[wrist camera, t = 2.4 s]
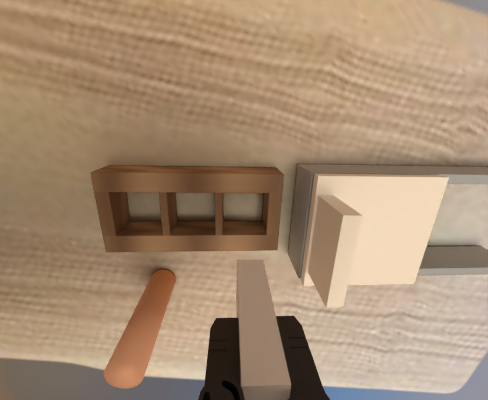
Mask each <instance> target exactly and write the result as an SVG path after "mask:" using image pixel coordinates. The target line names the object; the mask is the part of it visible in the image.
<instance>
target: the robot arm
mask: <svg viewBox="0 0 488 400" xmlns="http://www.w3.org/2000/svg"><path fill="white" fill-rule="evenodd" d="M236 302H237V318H216V320H215V321H214V323H213V325H212V327H211V329H210V339H209V348H208V358H207V367H206V377H205V386H204V387H203V389H202V390H201V392H200V396H199V399H198V400H330V399H329V397H328V396H327V395H326V393H325V391H324V389H323V386H322V384H321V381H320V378H319V375H318V372H317V369H316V366H315V363H314V360H313V357H312V354H311V351H310V349H309V346H308V343H307V340H306V338H305V334H304V331H303V328H302V325H301V324H300V323H299V322H298V320H297V319H296V318H295V317H294V316H276V315H275V310H274V306H273V302H272V297H271V293H270V288H269V284H268V279H267V275H266V271H265V266H264V262H263V260H237V293H236Z"/></svg>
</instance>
